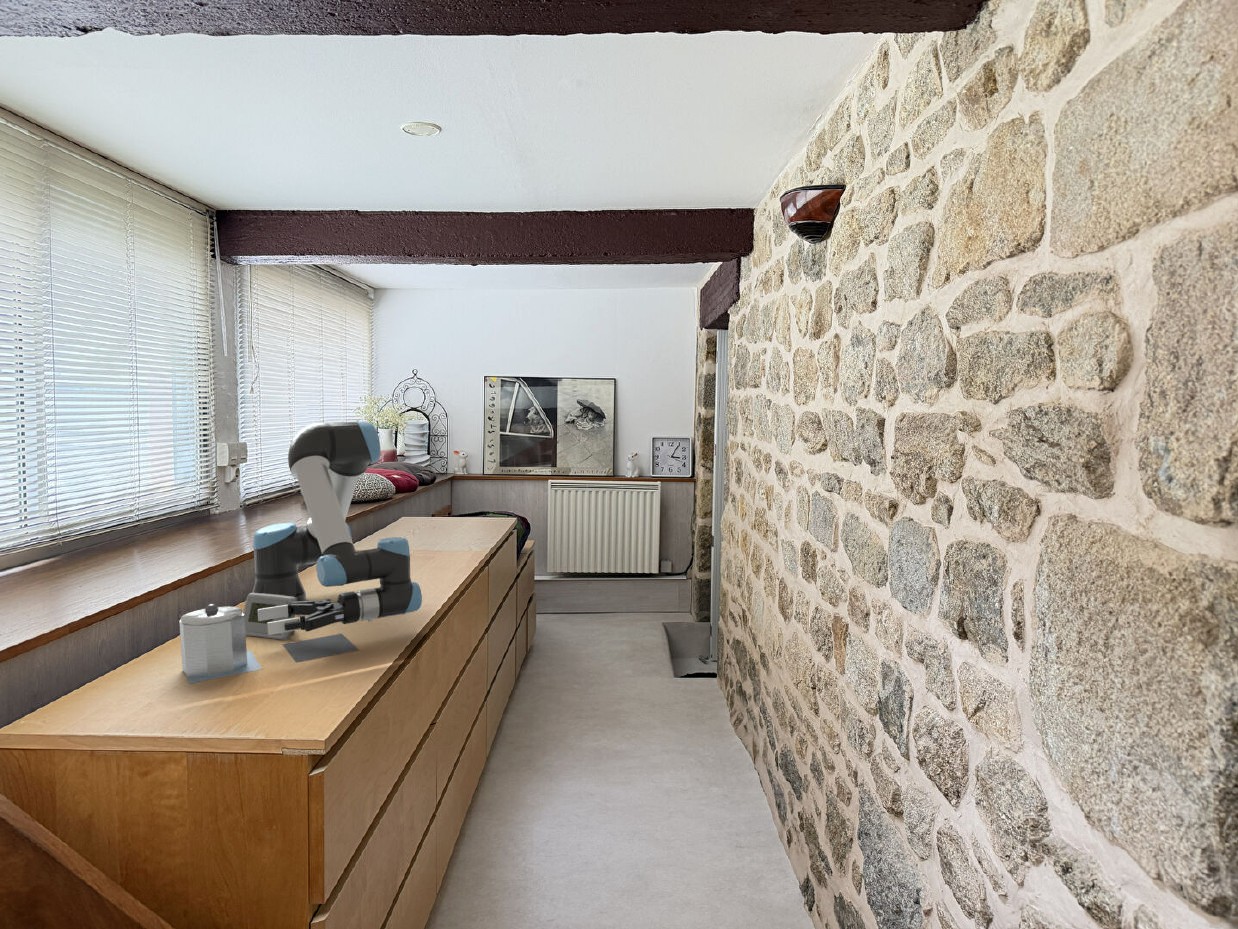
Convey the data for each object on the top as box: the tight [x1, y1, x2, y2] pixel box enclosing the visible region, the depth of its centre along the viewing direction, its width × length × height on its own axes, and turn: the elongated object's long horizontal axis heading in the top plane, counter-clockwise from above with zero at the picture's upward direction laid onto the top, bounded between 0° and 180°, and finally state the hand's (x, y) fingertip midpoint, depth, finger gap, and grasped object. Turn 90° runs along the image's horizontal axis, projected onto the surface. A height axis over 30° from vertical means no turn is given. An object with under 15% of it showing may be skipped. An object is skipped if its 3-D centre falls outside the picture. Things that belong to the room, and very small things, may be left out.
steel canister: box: [178, 603, 248, 678], centre depth 167 cm, size 12×12×14 cm
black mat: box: [282, 633, 360, 663], centre depth 180 cm, size 16×14×1 cm
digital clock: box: [242, 592, 297, 641], centre depth 191 cm, size 16×9×11 cm, turn 57°
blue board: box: [187, 649, 263, 684], centre depth 168 cm, size 16×14×1 cm
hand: (262, 621), depth 172 cm, fingers open, 13 cm apart
